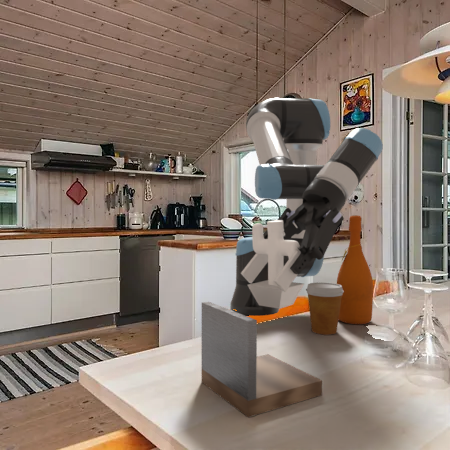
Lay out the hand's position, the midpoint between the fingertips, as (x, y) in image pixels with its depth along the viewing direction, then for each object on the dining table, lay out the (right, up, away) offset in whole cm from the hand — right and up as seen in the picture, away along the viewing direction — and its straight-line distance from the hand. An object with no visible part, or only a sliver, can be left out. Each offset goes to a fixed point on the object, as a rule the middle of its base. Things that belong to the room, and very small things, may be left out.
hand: (261, 282), depth 72 cm
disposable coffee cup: (+19, -18, +36) cm, 45 cm away
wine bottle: (+30, -18, +47) cm, 58 cm away
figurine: (+3, -5, +2) cm, 6 cm away
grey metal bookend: (-6, -16, -3) cm, 18 cm away
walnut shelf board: (0, -19, +1) cm, 19 cm away
